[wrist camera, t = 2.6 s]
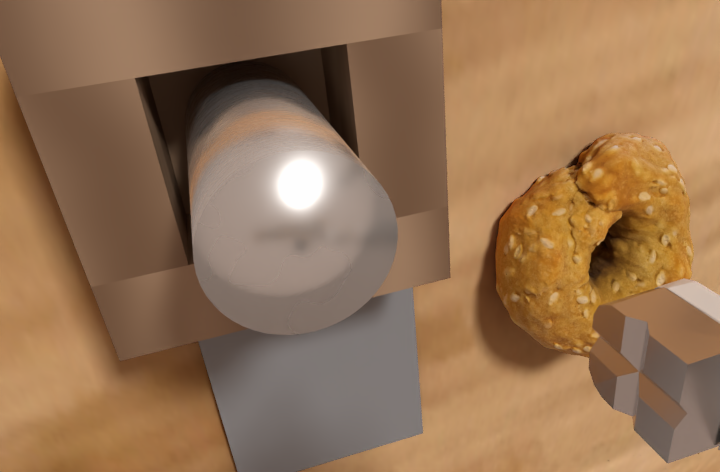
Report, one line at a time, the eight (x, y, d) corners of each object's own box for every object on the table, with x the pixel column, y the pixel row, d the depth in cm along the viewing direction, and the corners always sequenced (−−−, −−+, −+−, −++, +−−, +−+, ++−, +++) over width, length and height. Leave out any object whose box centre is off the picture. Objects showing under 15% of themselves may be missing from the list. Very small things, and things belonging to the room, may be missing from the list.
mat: (409, 277, 28) (412, 282, 27) (420, 427, 32) (422, 433, 32) (196, 330, 26) (196, 336, 25) (241, 482, 30) (242, 488, 30)
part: (299, 51, 21) (389, 131, 12) (317, 168, 23) (404, 308, 14) (170, 72, 20) (168, 175, 11) (201, 192, 22) (219, 356, 13)
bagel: (700, 162, 30) (784, 198, 26) (587, 335, 33) (645, 391, 29) (559, 92, 26) (632, 121, 22) (446, 297, 29) (490, 356, 25)
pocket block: (382, -80, 20) (438, -85, 16) (405, 222, 26) (450, 277, 22) (16, -36, 18) (-33, -28, 14) (129, 285, 24) (120, 361, 19)
